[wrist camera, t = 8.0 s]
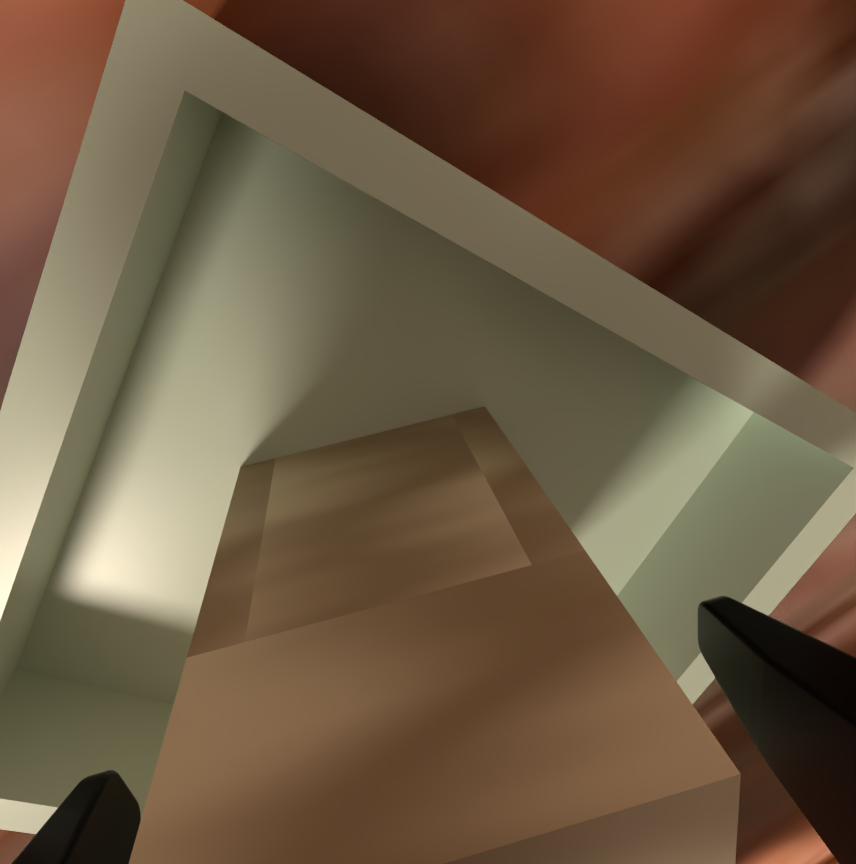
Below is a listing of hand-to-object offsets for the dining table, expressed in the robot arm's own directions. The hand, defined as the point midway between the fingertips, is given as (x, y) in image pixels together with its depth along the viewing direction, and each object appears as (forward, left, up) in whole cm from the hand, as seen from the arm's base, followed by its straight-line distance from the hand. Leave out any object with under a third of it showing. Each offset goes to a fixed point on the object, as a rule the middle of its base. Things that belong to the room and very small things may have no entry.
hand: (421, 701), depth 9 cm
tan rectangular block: (0, 0, -4) cm, 4 cm away
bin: (0, 0, -5) cm, 5 cm away
